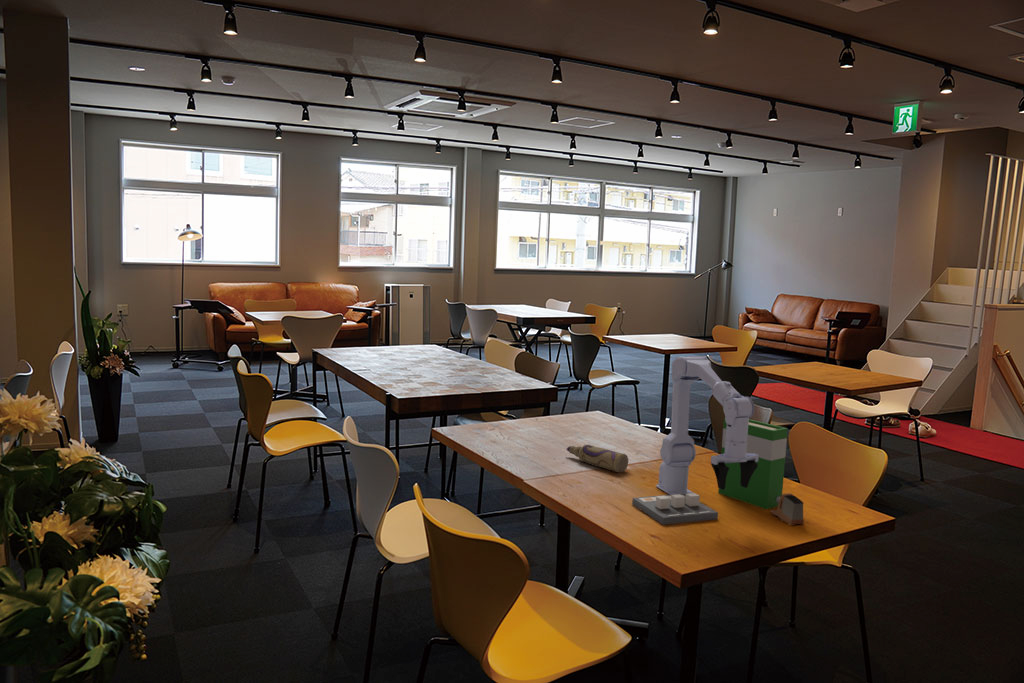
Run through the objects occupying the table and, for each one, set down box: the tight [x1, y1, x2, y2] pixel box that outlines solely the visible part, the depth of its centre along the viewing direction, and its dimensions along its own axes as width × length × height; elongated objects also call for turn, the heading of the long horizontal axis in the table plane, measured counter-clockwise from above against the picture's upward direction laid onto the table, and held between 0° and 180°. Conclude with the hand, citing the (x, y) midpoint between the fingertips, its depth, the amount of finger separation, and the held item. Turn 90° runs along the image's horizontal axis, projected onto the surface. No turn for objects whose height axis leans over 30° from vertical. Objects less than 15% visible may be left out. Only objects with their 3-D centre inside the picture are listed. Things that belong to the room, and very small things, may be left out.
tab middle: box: [671, 494, 685, 508], centre depth 210 cm, size 2×3×3 cm
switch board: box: [632, 494, 719, 526], centre depth 211 cm, size 17×18×2 cm
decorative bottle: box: [566, 444, 629, 474], centre depth 258 cm, size 26×8×7 cm, turn 42°
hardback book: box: [717, 418, 789, 510], centre depth 225 cm, size 18×7×24 cm, turn 36°
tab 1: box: [655, 495, 670, 509], centre depth 208 cm, size 2×3×3 cm
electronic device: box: [770, 493, 804, 526], centre depth 209 cm, size 4×10×8 cm, turn 17°
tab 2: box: [685, 492, 700, 506], centre depth 212 cm, size 2×3×3 cm
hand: (732, 487), depth 204 cm, fingers open, 7 cm apart
